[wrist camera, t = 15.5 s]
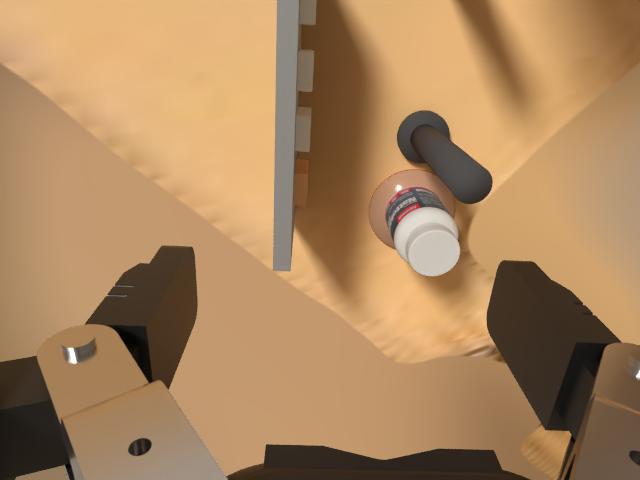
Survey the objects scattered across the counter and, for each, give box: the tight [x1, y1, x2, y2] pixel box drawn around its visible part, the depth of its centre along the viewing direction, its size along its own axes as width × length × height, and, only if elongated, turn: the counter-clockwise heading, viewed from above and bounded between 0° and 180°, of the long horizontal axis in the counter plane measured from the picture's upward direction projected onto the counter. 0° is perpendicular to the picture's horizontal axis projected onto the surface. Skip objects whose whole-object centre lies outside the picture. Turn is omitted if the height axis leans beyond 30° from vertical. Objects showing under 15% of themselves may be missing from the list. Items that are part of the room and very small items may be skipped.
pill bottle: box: [385, 186, 460, 276], centre depth 39 cm, size 5×5×9 cm
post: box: [397, 111, 492, 204], centre depth 34 cm, size 4×4×14 cm
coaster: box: [369, 169, 455, 249], centre depth 44 cm, size 8×8×1 cm
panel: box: [273, 0, 317, 271], centre depth 33 cm, size 22×2×12 cm, turn 177°
